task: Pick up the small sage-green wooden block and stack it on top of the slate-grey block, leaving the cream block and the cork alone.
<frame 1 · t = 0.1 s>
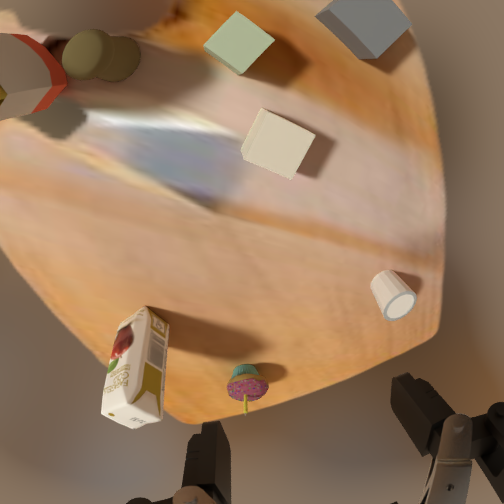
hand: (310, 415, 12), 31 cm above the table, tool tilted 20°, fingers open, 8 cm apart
cupcake: (245, 369, 60), on the table
slate block: (355, 20, 27), on the table
sage block: (235, 48, 29), on the table
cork: (117, 59, 27), on the table
french fries container: (44, 70, 25), on the table
juice carton: (145, 322, 50), on the table
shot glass: (383, 281, 51), on the table
cream block: (272, 138, 35), on the table
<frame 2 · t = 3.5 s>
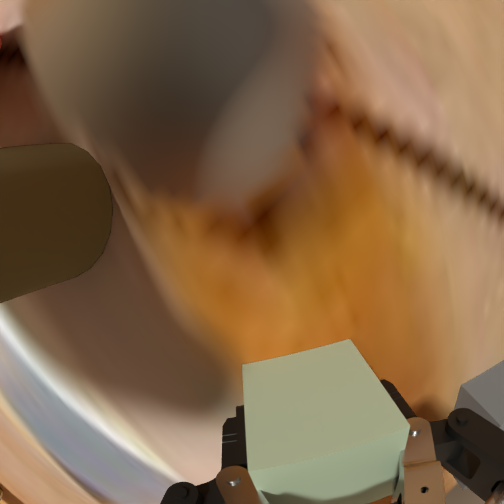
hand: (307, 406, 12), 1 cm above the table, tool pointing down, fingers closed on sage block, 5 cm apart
slate block: (484, 401, 15), on the table
sage block: (303, 393, 13), on the table, touching gripper
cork: (56, 211, 11), on the table
when the fingers open (7 cm above the table, at t = 8.2 s): sage block drops 1 cm, resting on slate block.
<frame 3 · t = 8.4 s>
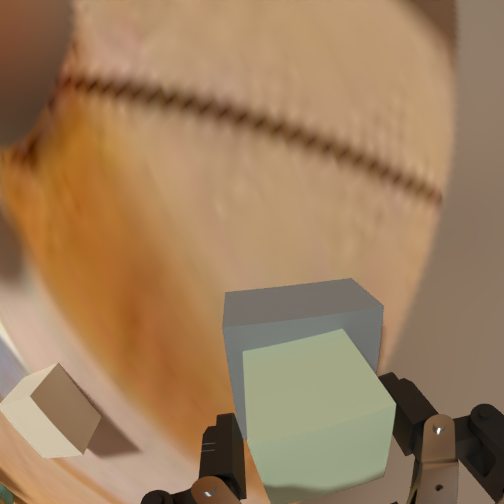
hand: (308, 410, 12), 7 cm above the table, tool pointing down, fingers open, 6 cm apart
cupcake: (5, 489, 25), on the table
slate block: (292, 340, 19), on the table, touching sage block
sage block: (300, 379, 14), point 5 cm above the table, touching slate block
cream block: (60, 396, 20), on the table
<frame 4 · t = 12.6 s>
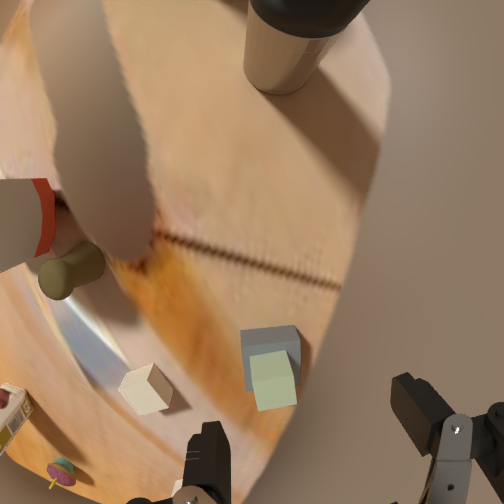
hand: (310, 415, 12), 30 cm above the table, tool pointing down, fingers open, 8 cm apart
cupcake: (66, 463, 50), on the table
slate block: (268, 349, 44), on the table
sage block: (270, 367, 39), point 5 cm above the table
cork: (88, 260, 40), on the table
french fries container: (45, 213, 38), on the table
juice carton: (20, 394, 45), on the table
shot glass: (187, 484, 52), on the table
cream block: (150, 381, 45), on the table
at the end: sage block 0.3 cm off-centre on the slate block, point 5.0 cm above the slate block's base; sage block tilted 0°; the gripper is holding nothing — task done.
